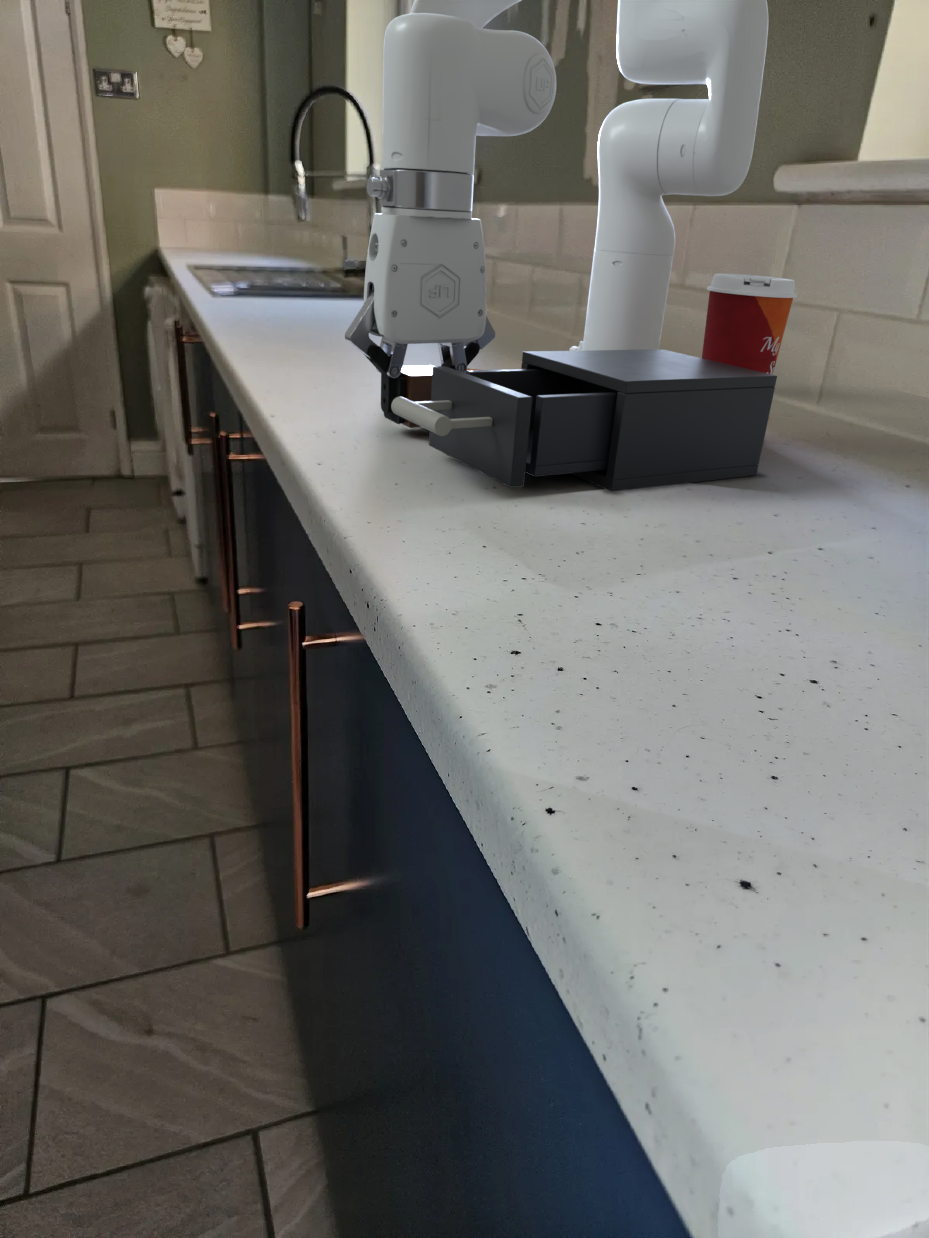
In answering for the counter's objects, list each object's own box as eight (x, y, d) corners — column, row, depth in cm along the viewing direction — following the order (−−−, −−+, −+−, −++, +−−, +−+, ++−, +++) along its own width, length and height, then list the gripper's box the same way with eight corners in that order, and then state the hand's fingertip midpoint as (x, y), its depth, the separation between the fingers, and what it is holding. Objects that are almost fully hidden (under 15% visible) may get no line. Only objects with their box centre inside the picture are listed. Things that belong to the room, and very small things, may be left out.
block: (387, 416, 80) (388, 366, 78) (430, 413, 82) (432, 365, 81) (409, 428, 77) (410, 376, 75) (453, 424, 79) (455, 374, 77)
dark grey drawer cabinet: (611, 491, 67) (627, 381, 63) (513, 448, 77) (522, 351, 74) (756, 475, 74) (777, 375, 71) (649, 437, 85) (663, 349, 81)
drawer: (450, 494, 60) (456, 400, 57) (374, 449, 70) (376, 367, 67) (664, 471, 69) (677, 390, 67) (570, 435, 79) (578, 362, 76)
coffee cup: (770, 451, 83) (807, 282, 76) (683, 441, 84) (711, 275, 78) (761, 432, 90) (793, 278, 84) (680, 424, 91) (706, 271, 85)
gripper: (350, 193, 65) (350, 435, 73) (537, 204, 73) (519, 421, 81) (313, 190, 71) (317, 415, 79) (490, 201, 79) (478, 404, 86)
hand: (420, 416), depth 80 cm, fingers closed on block, 4 cm apart
